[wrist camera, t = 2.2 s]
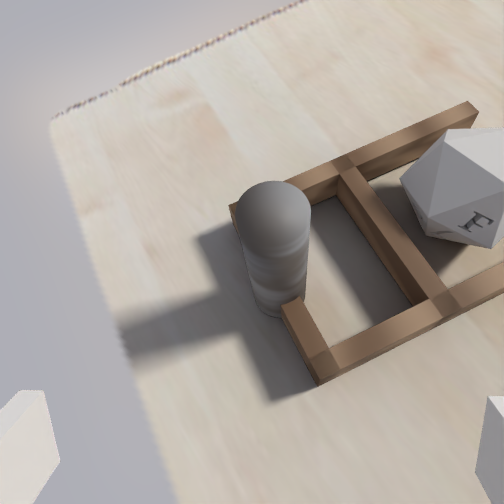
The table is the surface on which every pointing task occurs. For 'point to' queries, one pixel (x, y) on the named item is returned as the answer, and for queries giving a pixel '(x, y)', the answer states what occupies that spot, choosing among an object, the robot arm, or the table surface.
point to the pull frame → (375, 231)
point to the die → (460, 187)
